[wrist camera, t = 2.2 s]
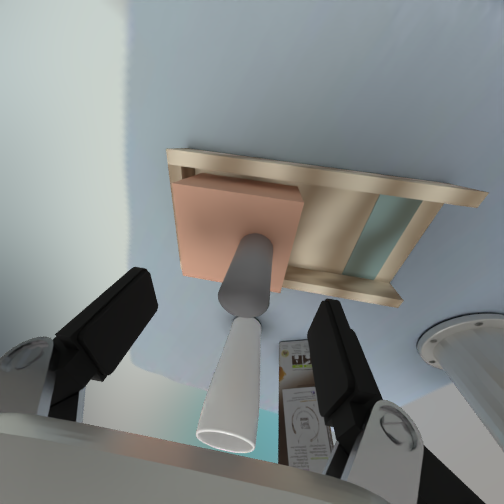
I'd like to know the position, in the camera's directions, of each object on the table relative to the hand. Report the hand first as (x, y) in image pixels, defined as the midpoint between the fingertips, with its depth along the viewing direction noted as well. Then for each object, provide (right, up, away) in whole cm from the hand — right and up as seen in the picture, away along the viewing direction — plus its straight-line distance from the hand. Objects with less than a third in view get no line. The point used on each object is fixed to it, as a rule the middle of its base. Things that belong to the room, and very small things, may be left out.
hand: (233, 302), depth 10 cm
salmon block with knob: (0, +6, +11) cm, 13 cm away
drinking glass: (0, -10, +22) cm, 25 cm away
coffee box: (+10, -17, +25) cm, 32 cm away
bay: (+6, +6, +11) cm, 14 cm away
